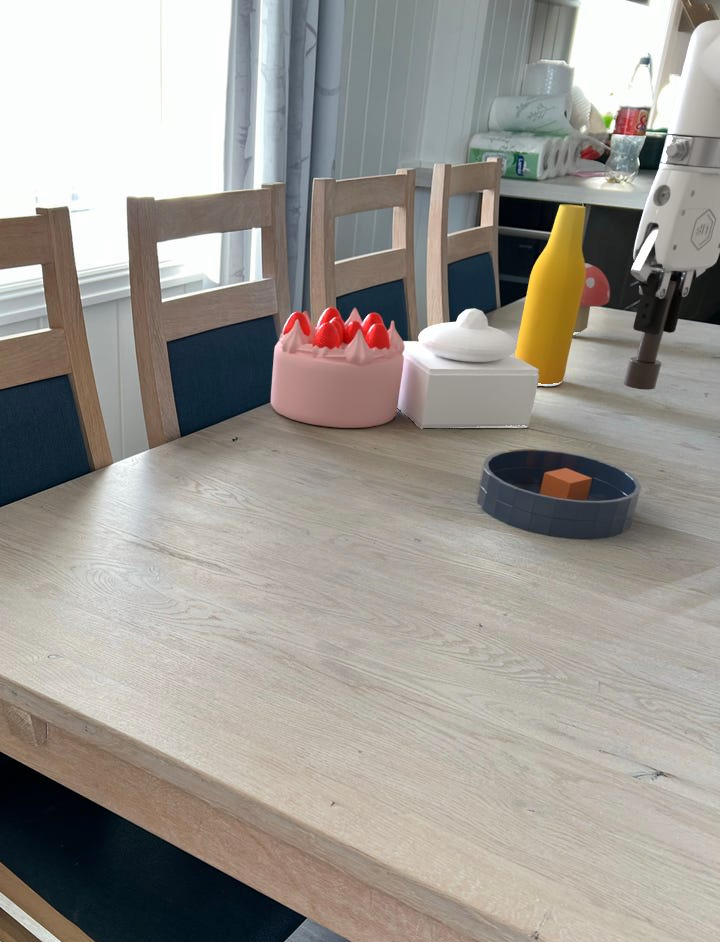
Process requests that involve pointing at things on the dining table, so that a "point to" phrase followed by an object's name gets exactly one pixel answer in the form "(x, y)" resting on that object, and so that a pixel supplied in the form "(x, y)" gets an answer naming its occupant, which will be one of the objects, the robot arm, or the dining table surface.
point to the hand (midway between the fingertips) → (653, 329)
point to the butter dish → (466, 376)
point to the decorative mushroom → (592, 295)
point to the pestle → (648, 354)
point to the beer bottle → (554, 298)
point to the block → (566, 484)
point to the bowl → (522, 506)
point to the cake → (337, 370)
